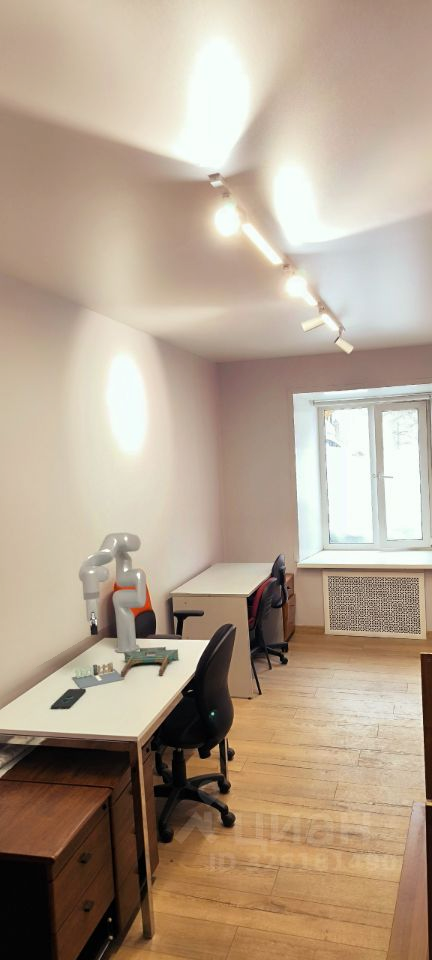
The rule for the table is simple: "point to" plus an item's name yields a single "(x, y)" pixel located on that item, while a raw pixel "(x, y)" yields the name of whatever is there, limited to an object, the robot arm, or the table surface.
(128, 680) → the table surface
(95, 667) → the fixed fence section
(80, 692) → the smart home device
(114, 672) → the card
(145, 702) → the table surface
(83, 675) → the folding fence panel
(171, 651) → the miniature gate
